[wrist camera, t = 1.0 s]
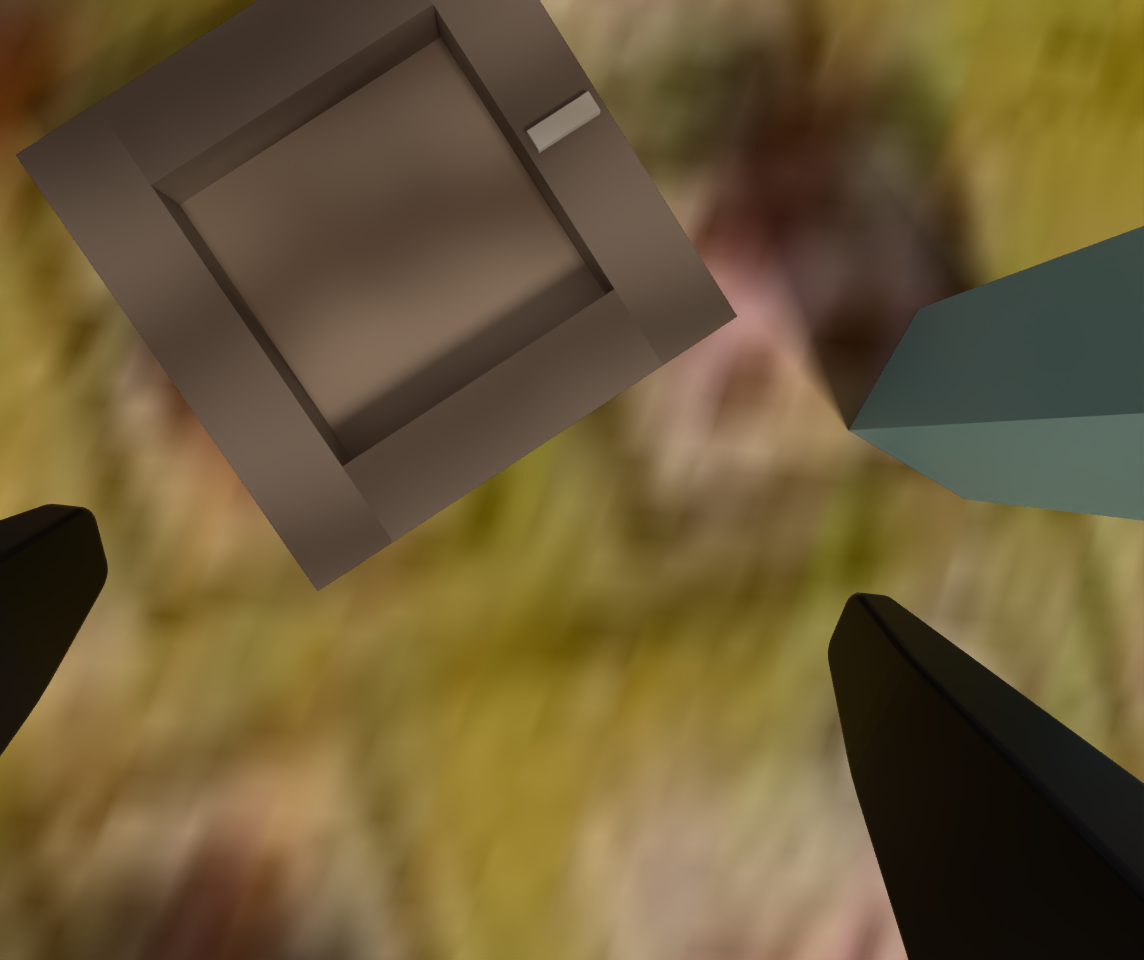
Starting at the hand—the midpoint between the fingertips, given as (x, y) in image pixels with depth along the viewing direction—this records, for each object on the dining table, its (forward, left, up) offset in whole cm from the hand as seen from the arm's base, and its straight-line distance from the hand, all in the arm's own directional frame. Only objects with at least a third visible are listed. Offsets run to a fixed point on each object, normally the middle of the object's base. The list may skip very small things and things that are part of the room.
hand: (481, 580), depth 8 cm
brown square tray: (+8, -1, -14) cm, 16 cm away
